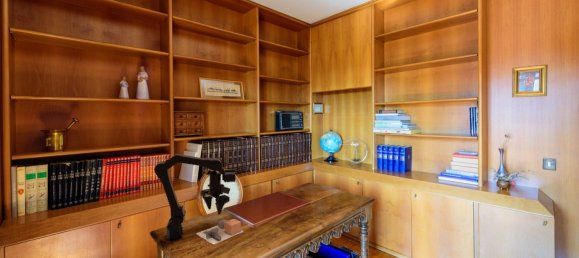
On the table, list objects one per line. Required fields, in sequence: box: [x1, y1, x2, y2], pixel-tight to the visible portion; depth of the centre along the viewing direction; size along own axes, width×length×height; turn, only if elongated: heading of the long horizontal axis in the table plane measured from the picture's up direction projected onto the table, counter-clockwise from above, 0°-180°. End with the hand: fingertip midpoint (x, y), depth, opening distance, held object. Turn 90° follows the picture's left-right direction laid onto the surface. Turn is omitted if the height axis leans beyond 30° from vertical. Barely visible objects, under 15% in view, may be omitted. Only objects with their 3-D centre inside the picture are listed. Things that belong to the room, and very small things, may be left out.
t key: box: [206, 228, 221, 240], centre depth 127 cm, size 8×6×3 cm
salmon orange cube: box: [224, 218, 242, 235], centre depth 135 cm, size 6×6×5 cm
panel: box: [195, 218, 244, 245], centre depth 134 cm, size 18×16×4 cm
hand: (214, 211), depth 135 cm, fingers open, 9 cm apart
